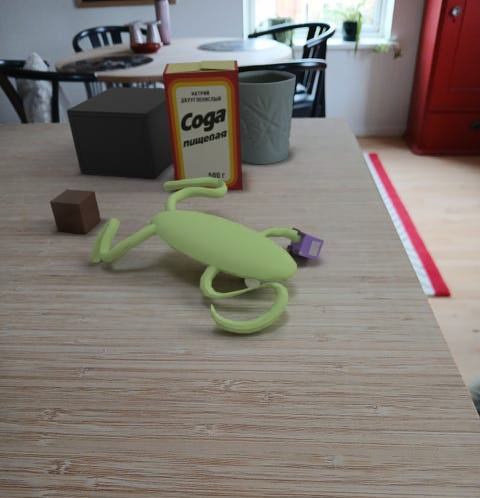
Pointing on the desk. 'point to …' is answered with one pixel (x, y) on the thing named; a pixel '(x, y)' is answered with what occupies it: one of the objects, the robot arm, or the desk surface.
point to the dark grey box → (122, 133)
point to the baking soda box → (204, 120)
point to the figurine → (218, 248)
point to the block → (75, 211)
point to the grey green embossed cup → (265, 115)
